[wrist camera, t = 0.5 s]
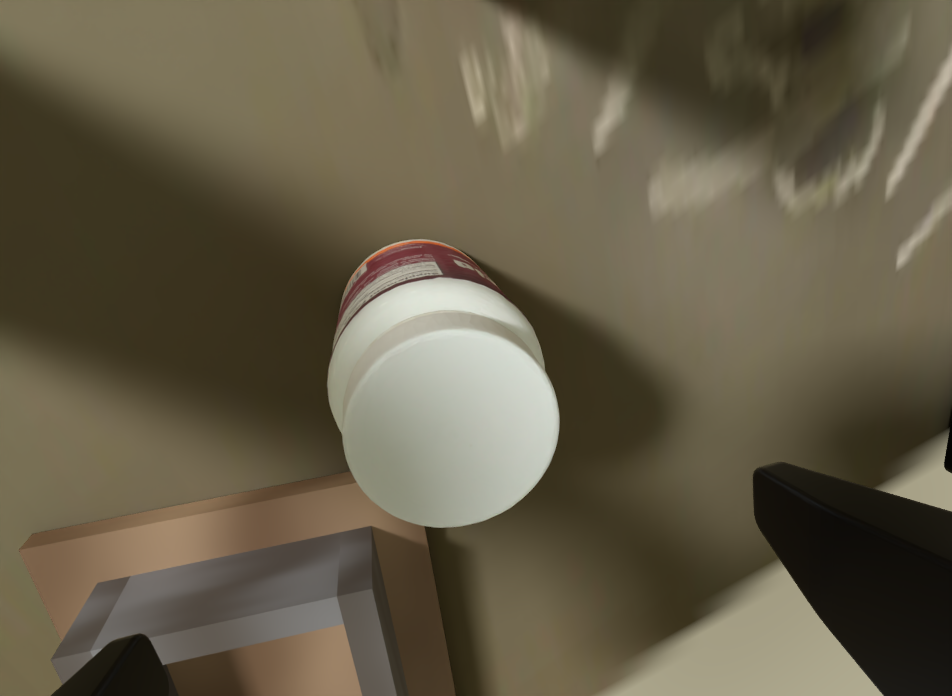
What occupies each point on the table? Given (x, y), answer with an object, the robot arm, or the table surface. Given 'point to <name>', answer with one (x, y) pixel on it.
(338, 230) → the table surface
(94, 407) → the table surface
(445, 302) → the pill bottle
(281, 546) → the bottle holder
